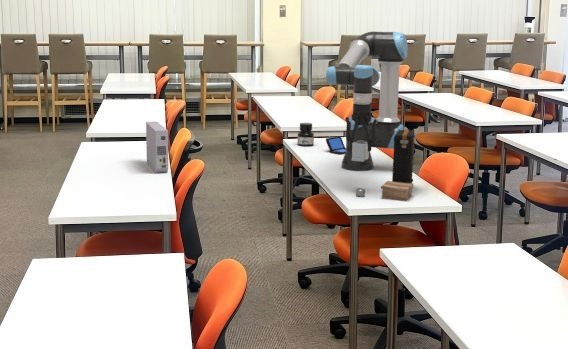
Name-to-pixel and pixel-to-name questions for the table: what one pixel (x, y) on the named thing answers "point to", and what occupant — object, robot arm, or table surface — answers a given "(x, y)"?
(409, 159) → the black carrying case
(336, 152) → the handheld game console
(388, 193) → the stand
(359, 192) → the dark grey metallic dome
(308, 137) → the ink bottle
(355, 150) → the housing
